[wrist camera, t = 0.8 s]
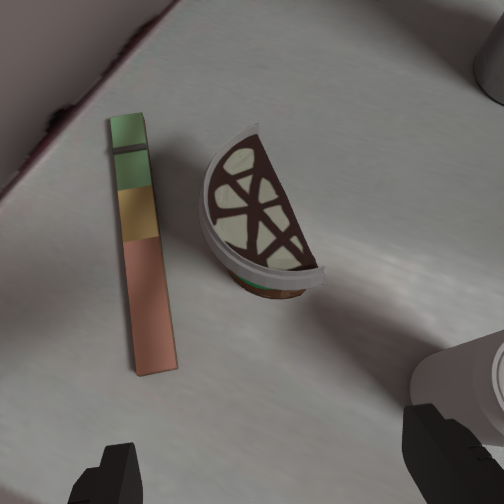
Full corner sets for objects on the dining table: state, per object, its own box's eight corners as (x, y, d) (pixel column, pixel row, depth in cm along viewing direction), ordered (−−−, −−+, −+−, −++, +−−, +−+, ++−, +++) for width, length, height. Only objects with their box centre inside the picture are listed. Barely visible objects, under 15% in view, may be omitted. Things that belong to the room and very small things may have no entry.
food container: (190, 208, 39) (170, 143, 29) (254, 187, 39) (255, 116, 30) (237, 338, 35) (232, 310, 25) (308, 311, 35) (328, 274, 26)
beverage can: (388, 391, 33) (459, 379, 22) (443, 335, 35) (535, 298, 23) (453, 460, 31) (566, 485, 20) (508, 398, 33) (640, 391, 22)
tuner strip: (144, 119, 42) (140, 109, 41) (178, 368, 34) (175, 366, 32) (113, 124, 42) (108, 114, 40) (140, 376, 33) (135, 374, 32)
